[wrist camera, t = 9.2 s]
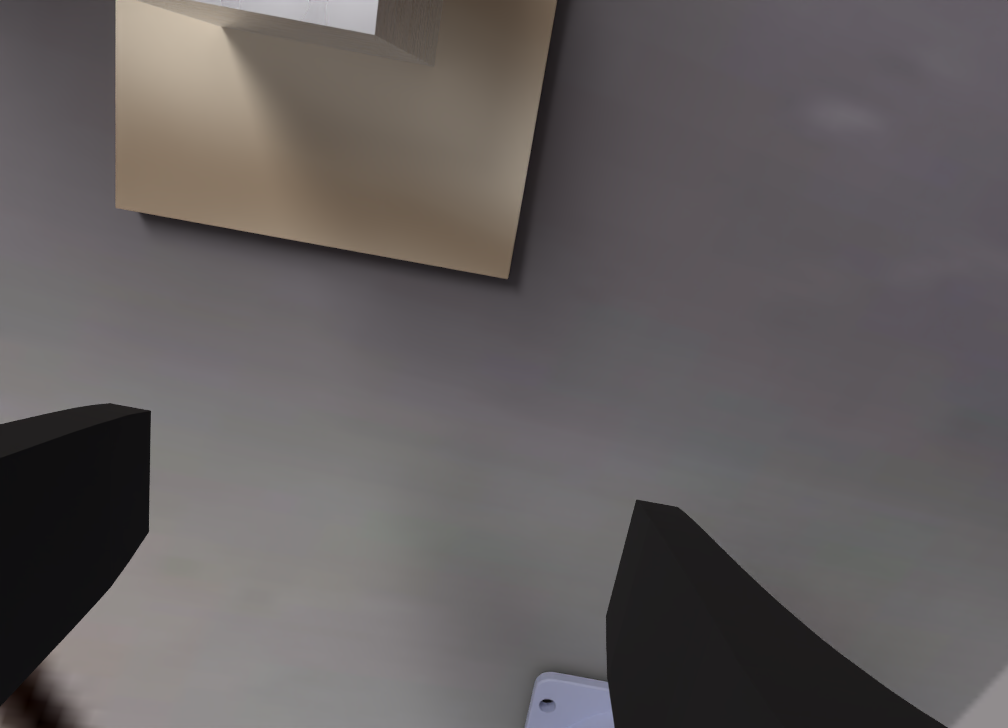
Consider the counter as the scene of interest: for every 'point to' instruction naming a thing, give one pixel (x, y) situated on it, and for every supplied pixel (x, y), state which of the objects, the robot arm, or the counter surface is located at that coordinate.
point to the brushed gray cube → (330, 23)
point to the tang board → (335, 132)
